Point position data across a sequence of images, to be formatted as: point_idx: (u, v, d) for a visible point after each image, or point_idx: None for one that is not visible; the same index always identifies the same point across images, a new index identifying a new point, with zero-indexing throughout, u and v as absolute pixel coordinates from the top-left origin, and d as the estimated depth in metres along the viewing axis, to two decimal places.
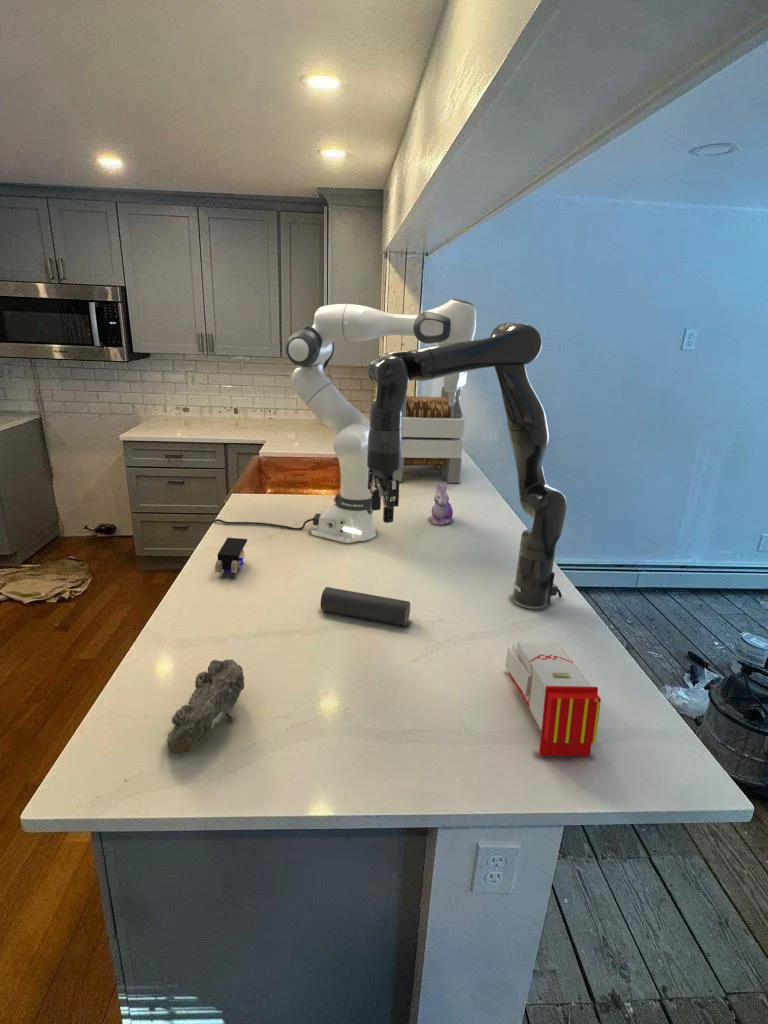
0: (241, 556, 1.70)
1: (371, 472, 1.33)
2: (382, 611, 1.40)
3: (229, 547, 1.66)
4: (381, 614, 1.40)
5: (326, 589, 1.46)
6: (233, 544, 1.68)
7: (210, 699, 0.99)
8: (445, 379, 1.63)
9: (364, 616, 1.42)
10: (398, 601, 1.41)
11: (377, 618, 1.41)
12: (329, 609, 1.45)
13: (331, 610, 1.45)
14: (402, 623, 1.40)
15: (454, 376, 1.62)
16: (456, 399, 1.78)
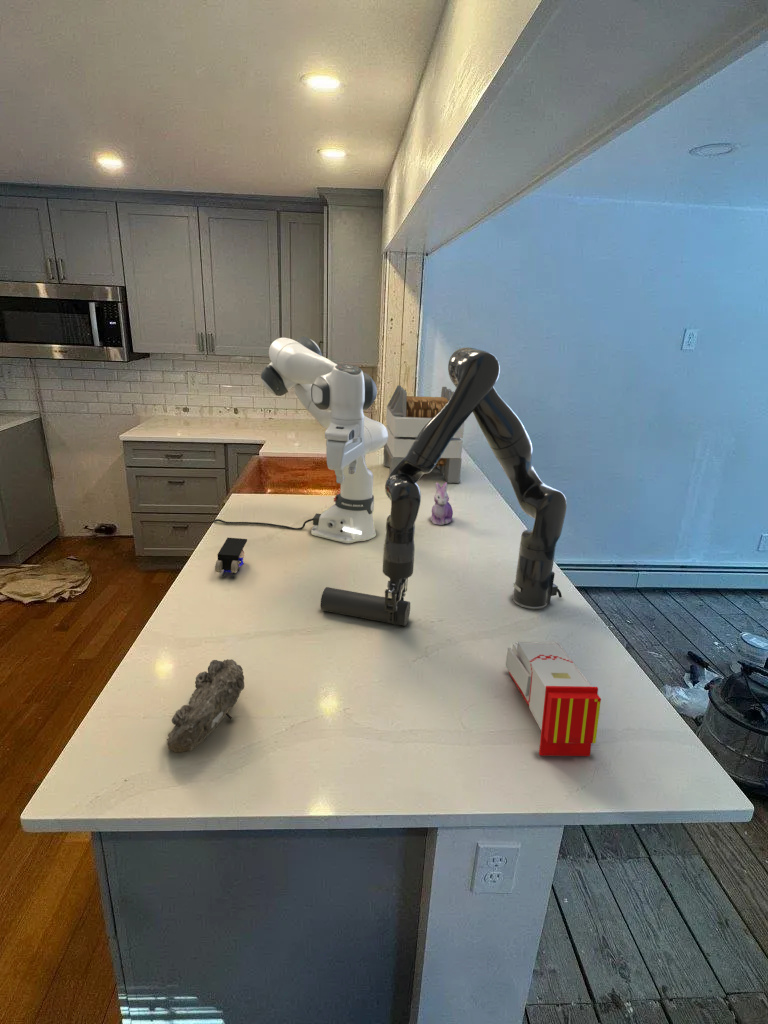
0: (241, 556, 1.70)
1: None
2: (382, 611, 1.40)
3: (229, 547, 1.66)
4: (380, 614, 1.40)
5: (326, 589, 1.46)
6: (233, 544, 1.68)
7: (210, 699, 0.99)
8: (328, 456, 1.44)
9: (364, 616, 1.42)
10: None
11: (377, 618, 1.41)
12: (329, 609, 1.45)
13: (331, 610, 1.45)
14: (402, 623, 1.40)
15: (337, 454, 1.43)
16: (351, 471, 1.59)
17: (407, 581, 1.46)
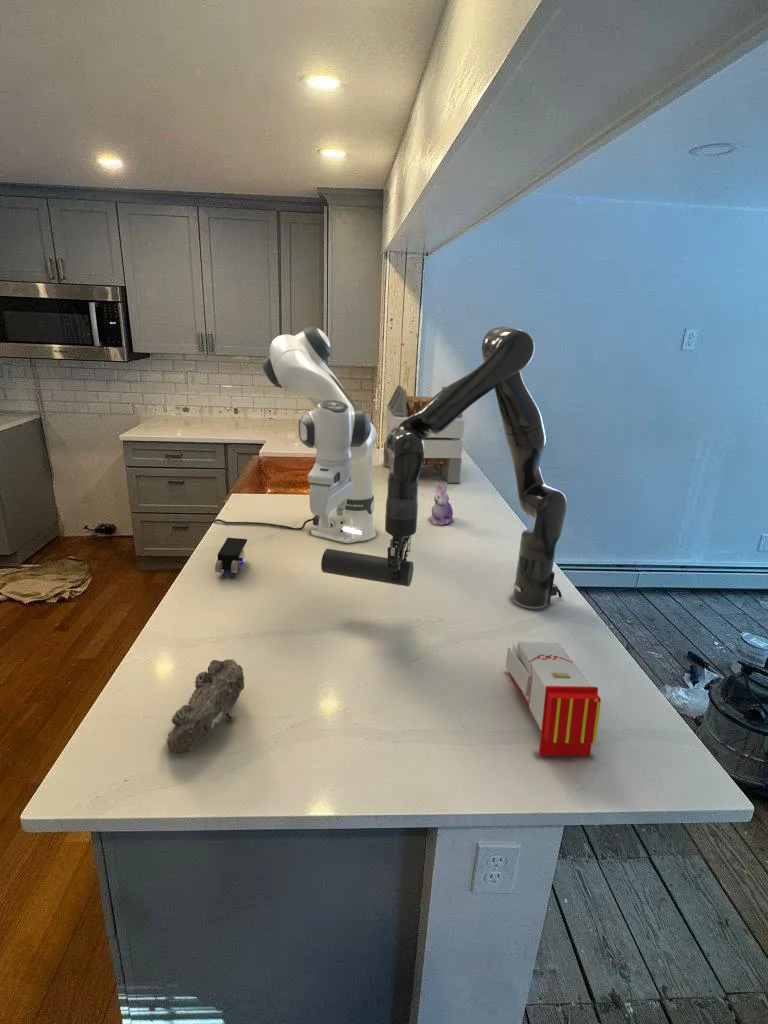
0: (241, 556, 1.70)
1: None
2: (384, 571, 1.37)
3: (229, 547, 1.66)
4: (383, 574, 1.37)
5: (327, 550, 1.42)
6: (233, 544, 1.68)
7: (210, 699, 0.99)
8: (311, 501, 1.33)
9: (366, 577, 1.39)
10: (401, 561, 1.38)
11: (379, 579, 1.38)
12: (330, 570, 1.41)
13: (332, 571, 1.41)
14: (405, 583, 1.36)
15: (321, 498, 1.32)
16: (339, 513, 1.47)
17: (410, 542, 1.42)
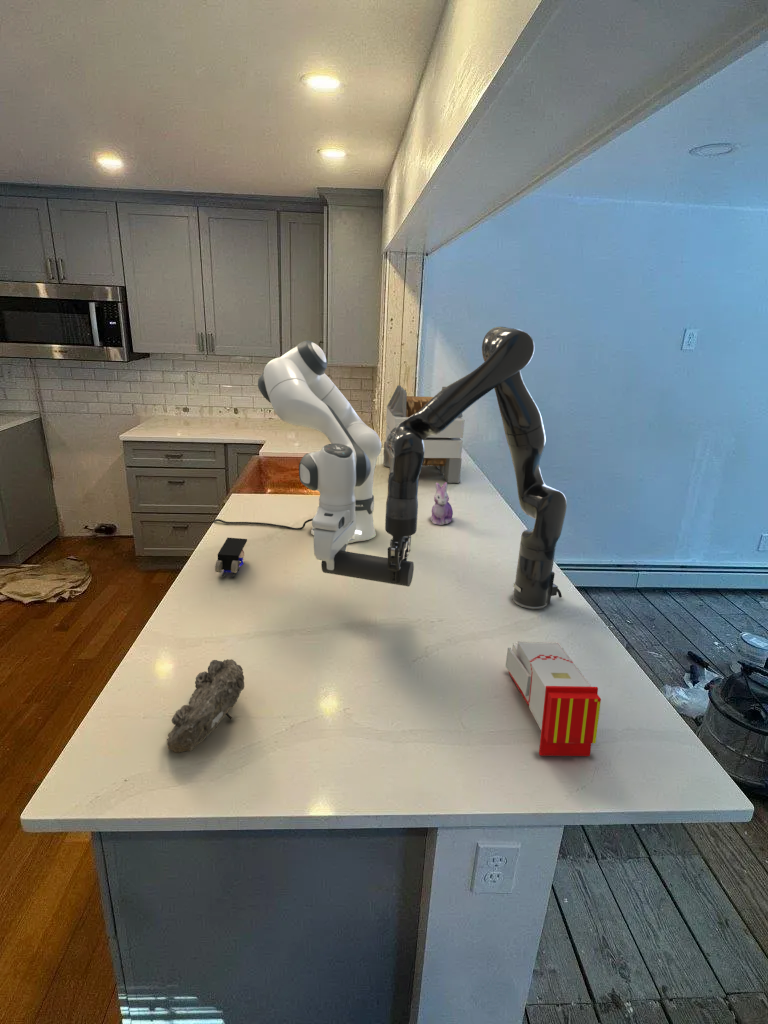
0: (241, 556, 1.70)
1: None
2: (385, 571, 1.37)
3: (229, 547, 1.66)
4: (383, 574, 1.37)
5: None
6: (233, 544, 1.68)
7: (210, 699, 0.99)
8: (315, 546, 1.32)
9: (366, 577, 1.39)
10: None
11: (380, 579, 1.38)
12: (330, 570, 1.41)
13: (332, 571, 1.41)
14: (405, 583, 1.36)
15: (326, 544, 1.31)
16: None
17: (410, 542, 1.42)
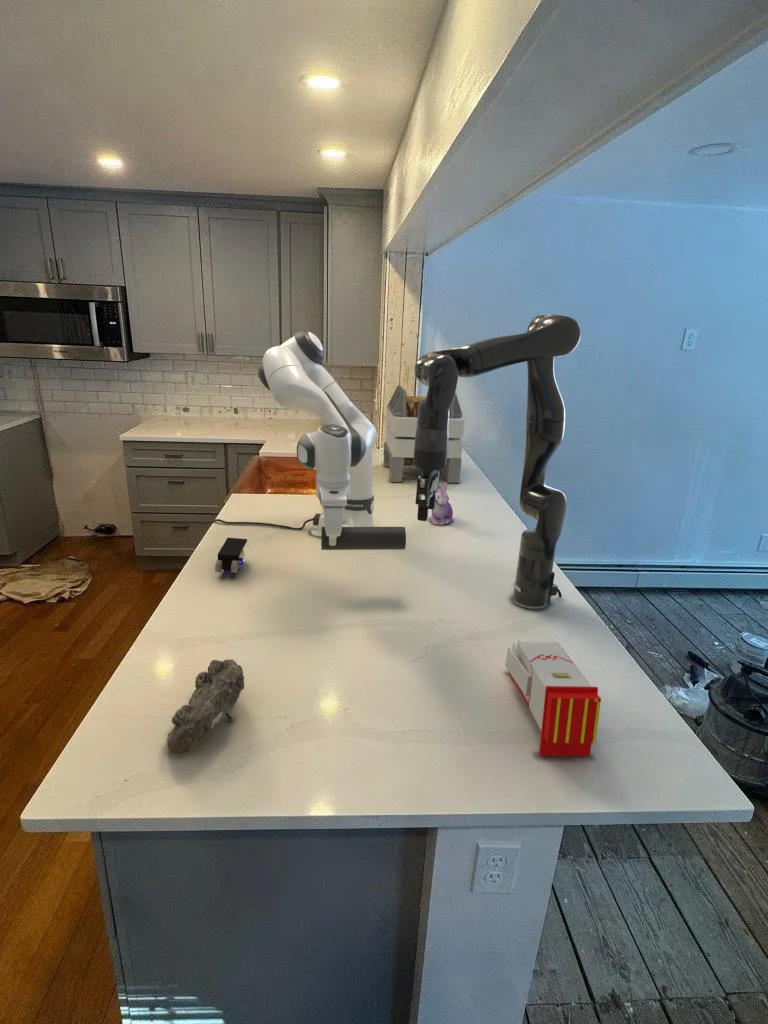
0: (241, 556, 1.70)
1: None
2: (384, 538, 1.49)
3: (229, 547, 1.66)
4: (383, 541, 1.49)
5: (323, 528, 1.48)
6: (233, 544, 1.68)
7: (210, 699, 0.99)
8: (327, 523, 1.38)
9: (366, 547, 1.49)
10: (395, 527, 1.51)
11: (379, 546, 1.49)
12: (330, 546, 1.48)
13: (332, 547, 1.48)
14: (403, 546, 1.50)
15: (337, 520, 1.38)
16: None
17: None
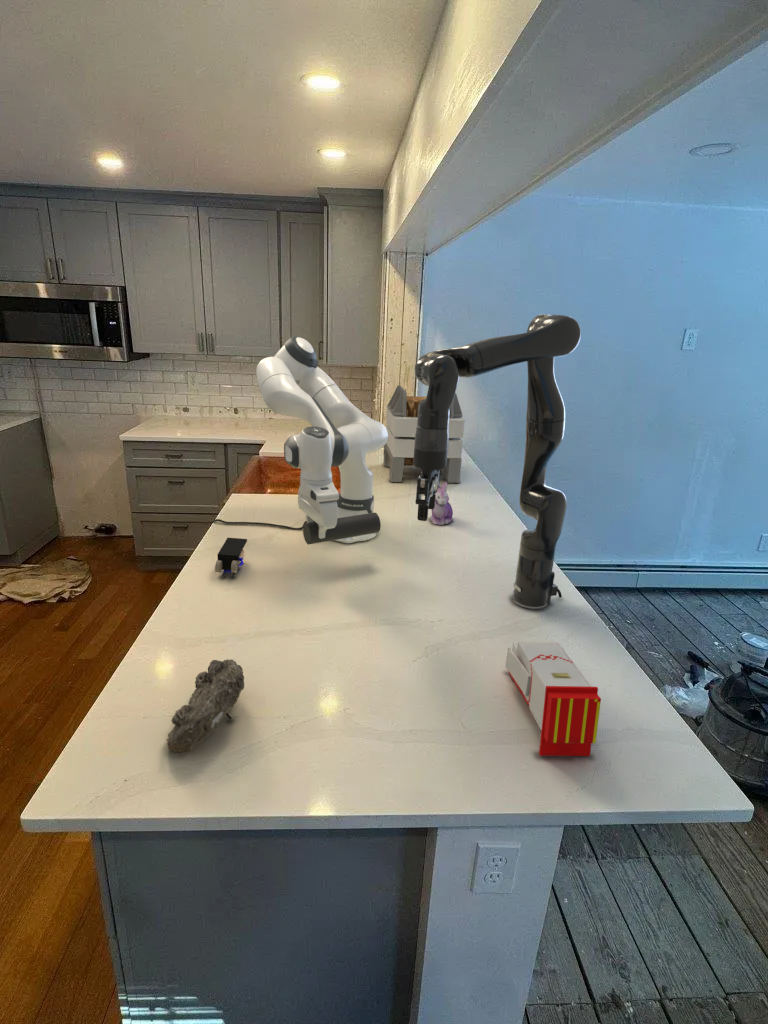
0: (241, 556, 1.70)
1: None
2: (363, 525, 1.65)
3: (229, 547, 1.66)
4: (362, 527, 1.65)
5: (309, 524, 1.59)
6: (233, 544, 1.68)
7: (210, 699, 0.99)
8: (325, 517, 1.50)
9: (348, 535, 1.64)
10: (368, 514, 1.68)
11: (359, 533, 1.65)
12: (318, 540, 1.59)
13: (319, 540, 1.60)
14: (378, 530, 1.68)
15: (333, 513, 1.51)
16: None
17: None
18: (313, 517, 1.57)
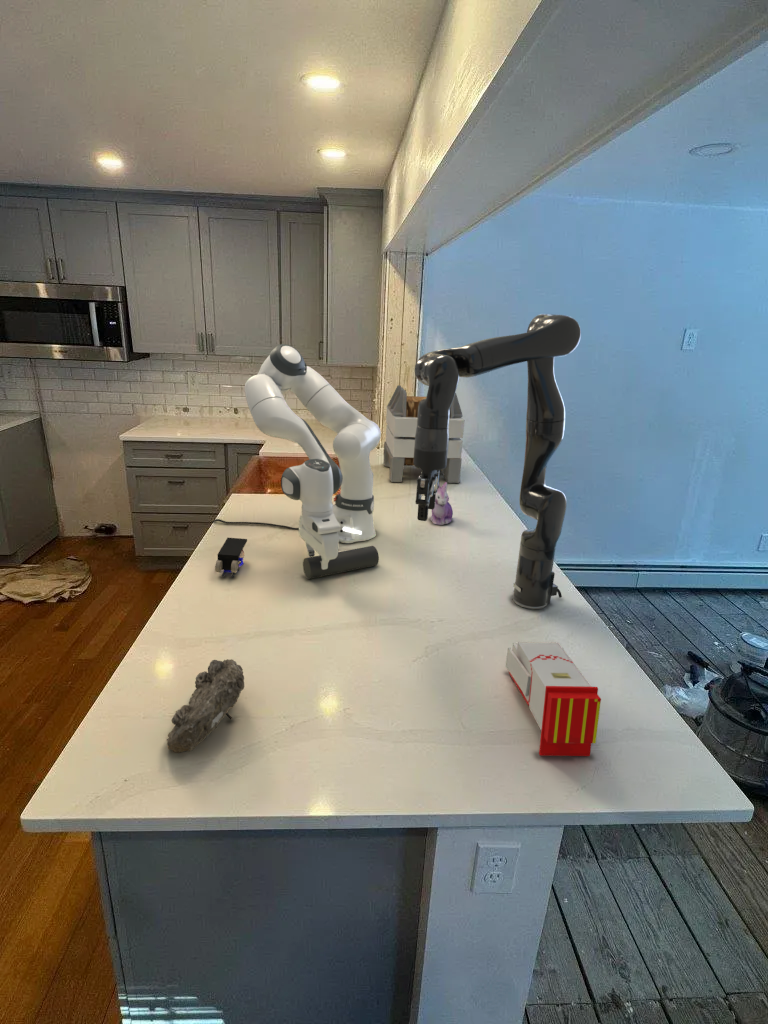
0: (241, 556, 1.70)
1: None
2: (361, 559, 1.69)
3: (229, 547, 1.66)
4: (361, 561, 1.69)
5: (309, 559, 1.63)
6: (233, 544, 1.68)
7: (210, 699, 0.99)
8: (326, 549, 1.53)
9: (347, 569, 1.68)
10: (367, 547, 1.72)
11: (357, 566, 1.69)
12: (318, 574, 1.63)
13: (319, 575, 1.63)
14: (376, 563, 1.72)
15: (334, 544, 1.54)
16: (312, 554, 1.68)
17: None
18: (314, 547, 1.60)
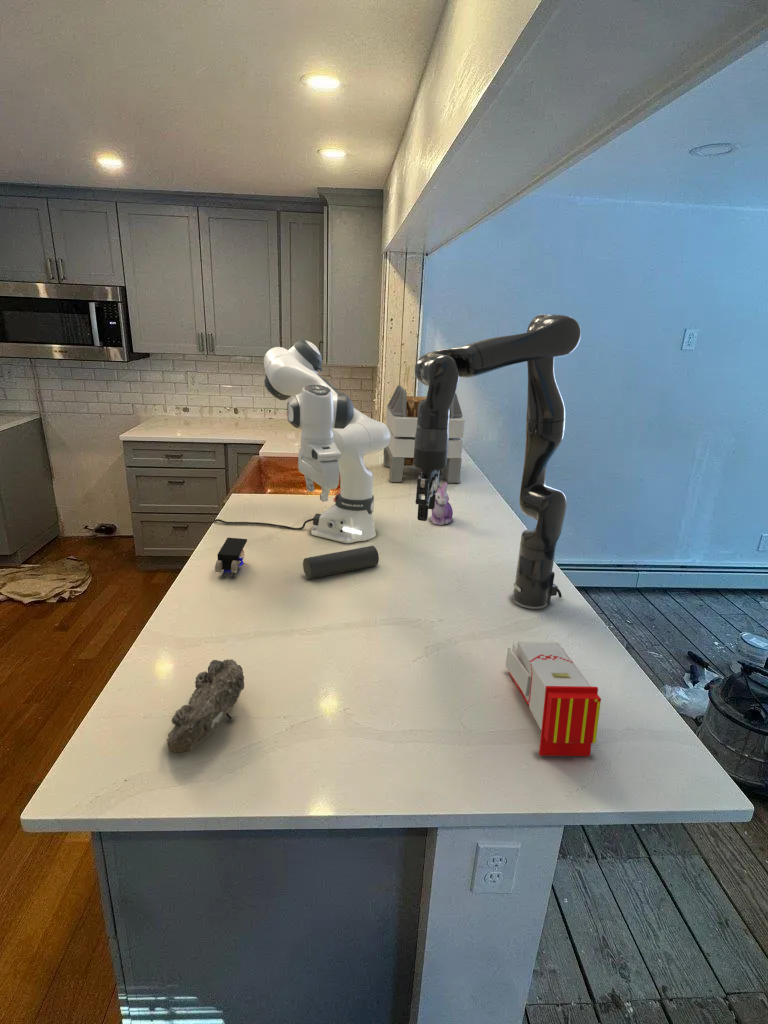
0: (241, 556, 1.70)
1: None
2: (361, 559, 1.69)
3: (229, 547, 1.66)
4: (361, 561, 1.69)
5: (309, 559, 1.63)
6: (233, 544, 1.68)
7: (210, 699, 0.99)
8: (326, 477, 1.46)
9: (347, 569, 1.68)
10: (367, 547, 1.72)
11: (357, 566, 1.69)
12: (318, 574, 1.63)
13: (319, 575, 1.63)
14: (376, 563, 1.72)
15: (335, 473, 1.47)
16: (311, 489, 1.61)
17: None
18: (314, 478, 1.53)
